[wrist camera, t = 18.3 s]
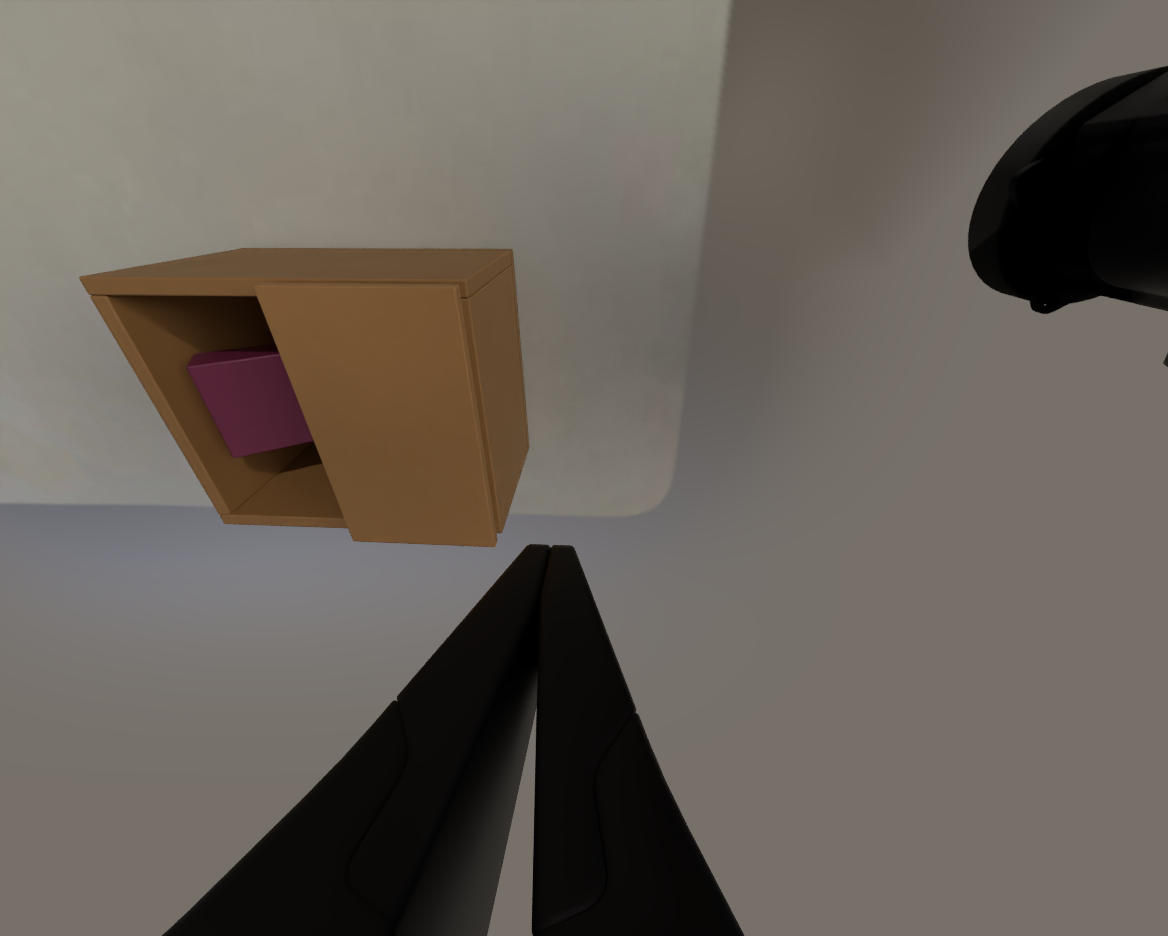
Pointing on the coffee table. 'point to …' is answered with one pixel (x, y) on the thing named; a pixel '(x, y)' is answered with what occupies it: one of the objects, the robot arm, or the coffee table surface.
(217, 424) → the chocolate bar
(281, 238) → the coffee table surface
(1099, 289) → the robot arm
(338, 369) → the flap
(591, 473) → the coffee table surface
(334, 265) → the carton
